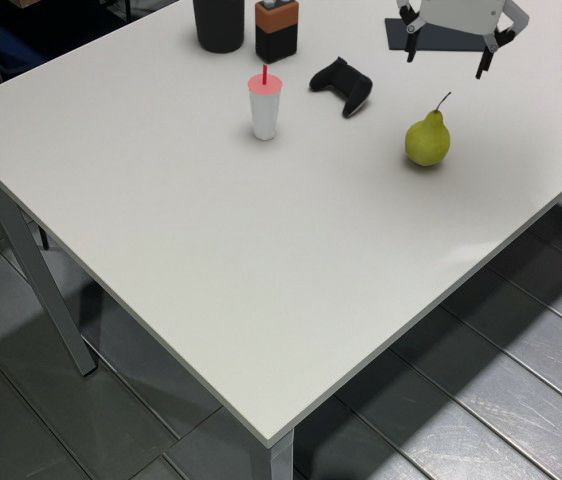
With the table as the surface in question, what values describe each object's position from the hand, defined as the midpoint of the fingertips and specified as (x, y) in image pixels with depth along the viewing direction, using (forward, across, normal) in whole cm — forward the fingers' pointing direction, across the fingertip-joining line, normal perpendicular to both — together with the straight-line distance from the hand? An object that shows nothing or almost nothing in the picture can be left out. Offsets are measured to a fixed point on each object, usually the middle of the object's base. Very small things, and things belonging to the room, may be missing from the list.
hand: (444, 65), depth 86 cm
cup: (+17, +25, +3) cm, 31 cm away
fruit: (+16, -1, 0) cm, 16 cm away
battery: (+17, +31, -19) cm, 40 cm away
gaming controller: (+17, +16, -11) cm, 26 cm away
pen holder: (+17, +42, -19) cm, 50 cm away
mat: (+16, +4, -36) cm, 40 cm away
